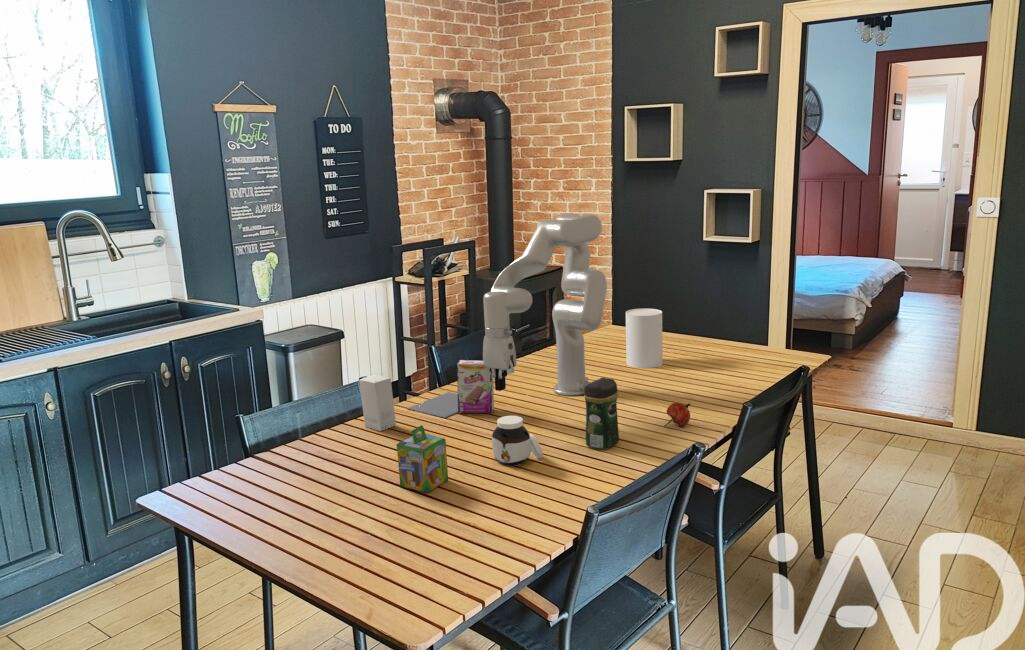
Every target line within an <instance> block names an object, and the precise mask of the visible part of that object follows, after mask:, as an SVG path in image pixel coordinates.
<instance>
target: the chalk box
mask: <svg viewBox="0 0 1025 650" xmlns="http://www.w3.org/2000/svg"><path fill="white" fill-rule="evenodd" d="M419 432H420V433H419ZM446 441H447V440H446V438H443V437H440V436H439V437H438V436H435V435H431V434H426V431H425V427H424V425H422V424H421V425H420V426H417V427H416V428H413V429H412V430H411V436H410V437H408V438H404V439H403V440H401V441H400V442H398V443H396V452H397V454H396V455H397V463H398V466H397V467H398V474H399V487H400V488H404V489H410V490H414V491H418V492H422V493H423V492H424V493H426V494H428V493H430V492H431V491H433V490H434V489H436V488H438V487H440V486H441V485H443V484H444V483H446V482H448V481H449V474H448V473H449V471H448V456H447V443H446Z"/></svg>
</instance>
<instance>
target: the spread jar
mask: <svg viewBox="0 0 1025 650" xmlns="http://www.w3.org/2000/svg"><path fill="white" fill-rule="evenodd" d="M496 422H497V425H496V426H497V427H496V428H494V430H493V431H492V434H491V445H492V447H491V448H492V454H493V457H494V459H495V460H496V461H497V462H498V463H499V464H500V465H501V466H502V465H503V466H505V467H507V466H508V467H514V466H515V467H517V466H521V465H522V464H524V463H525V462H526V461H527V460H528V459H530V456H531V453H532V454H533V456H534V457H535V458H536V459H538V460H539V459H540V458H542V457H544V452H543V449H542V447H541V445H540V443H539V441H538V440H537V438H536V437H535V435H534V434H532V433H529V431H528V429H527V428H526V427H525V426H524V419H523V417H521V416H519V415H506V416H505V415H504V416H501V417H499V418H497V420H496Z"/></svg>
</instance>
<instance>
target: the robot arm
mask: <svg viewBox="0 0 1025 650" xmlns="http://www.w3.org/2000/svg"><path fill="white" fill-rule="evenodd" d="M602 229H603V224H602V221H601V219H600V218H599V217H598V216H597V215H594V214H590V213H589V214H588V213H587V214H584V213H581V214H580V213H563V214H560V215H558V216H556V218H553V219H550V218H549V219H544V220H542V221H541V222H540V223H539V224H538V225H537V227H536V229H535V231H534V232H533V234H532V235H531V238H530V240H529V241H528V244H527V245H526V247H525V248H524V251H523V253H522V255H520V256H519V257H518V258H517V259H515V260H514V261H513V262H511V263H510V264H508V266H506V267H505V268H504V269H503V270H502V271H501V272H500V273H499V274H498V276H497V277H496V279H495V281H494V283H493V285H492V287H491V289H490V291H488V292H486V293H484V295H483V300H482V301H483V313H484V314H483V315H484V317H483V318H484V332H485V333H484V334H485V335H484V336H483V343H482V361H483V362H484V365H485V369H486V370H489V371H490V372H491V373H492V375H493V379H494V388H495V389H494V390H495V391H498V392H501V391H504V390H506V388H507V387H506V378H507V376H508V375H511V374H514V373H515V367H516V366H517V355H516V354H517V353H516V346H515V343H514V339H513V336H512V334H513V330H511V329H510V328H511V326H510V314H520V313H525V312H527V311H528V310H529V309H530V307H531V306H532V304H533V295H532V294H531V292H530V291H529V290H527V289H525V288H519V287H515V286H516V285H517V284H518V283H519V282H520V281H522V280H524V279H525V278H528V277H531V276H533V275H534V276H535V275H536V274H538V273H541V272H543V271H544V270H545V269H546V268H547V266H548V264H549V262H550V260H551V259H552V257H553V254H554V253H555V251H556V249H557V248H558V247H563V248H564V262H563V269H562V276H561V286H560V287H561V290H562V292H563V293H564V294H565V295H568V296H572V297H581V298H583V300H577V299H569V298H567V299H560V300H558V301H557V302H556V303H555V304H554V305H553V308H552V309H551V312H552V313H551V316H552V322H553V325H554V331H555V339H556V340H555V341H556V342H555V343H556V345H555V347H556V367H557V369H556V371H557V376H556V377H557V384H555V385H553V388H552V389H553V392H554V393H555V394H558V395H562V396H581V395H584V387H585V385H587V384H589V383H591V382H592V381H591V382H589V377H586V352H585V350H586V349H585V347H586V346H585V343H586V342H585V337H584V334H583V331H586V332H595V331H596V330H597V329H598V328H600V326H601V323H602V320H603V317H604V309H605V303H606V297H607V296H606V295H607V289H608V287H607V286H608V284H607V283H608V282H607V278H606V276H605V274H604V273H603V271H601V270H599V269H597V268H596V269H594V268H590V263H591V250H590V246H589V245H588V243H591V242H594V241H596V240H597V239H598V238H599V237H600V235H601V234H602Z"/></svg>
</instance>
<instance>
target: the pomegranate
mask: <svg viewBox="0 0 1025 650" xmlns="http://www.w3.org/2000/svg"><path fill="white" fill-rule="evenodd" d="M689 406H691V403H687V404H683V403H682V402H673V403H671V404H669V406H668V407H667V408H666V414H667V415H668V416H669V417H670V418H671V419H670V420H669V421H668V422H667V423H665V425H664V426H663V427H666V426H668V425H670V423H672V422H673V423H675V424H676V425H677V426H678V427H680V428H682V427H684V426H686V425H687V424H688V423H689V422H690V419H691V412H690V410H689Z"/></svg>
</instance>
